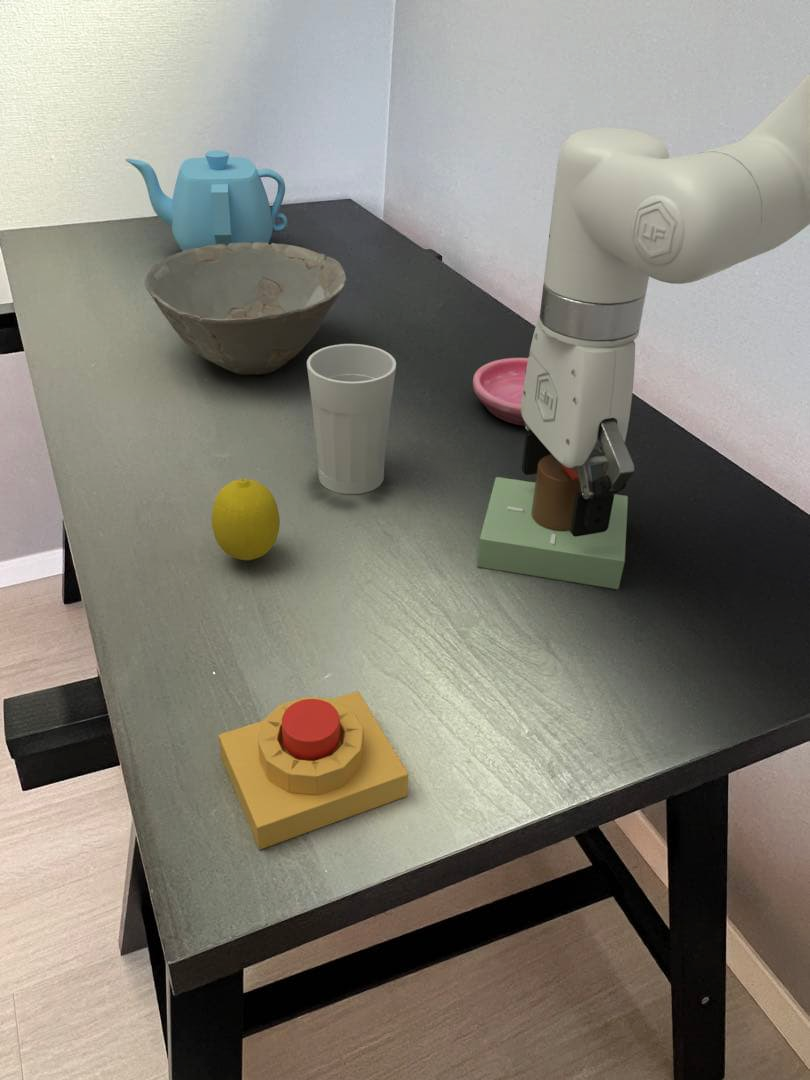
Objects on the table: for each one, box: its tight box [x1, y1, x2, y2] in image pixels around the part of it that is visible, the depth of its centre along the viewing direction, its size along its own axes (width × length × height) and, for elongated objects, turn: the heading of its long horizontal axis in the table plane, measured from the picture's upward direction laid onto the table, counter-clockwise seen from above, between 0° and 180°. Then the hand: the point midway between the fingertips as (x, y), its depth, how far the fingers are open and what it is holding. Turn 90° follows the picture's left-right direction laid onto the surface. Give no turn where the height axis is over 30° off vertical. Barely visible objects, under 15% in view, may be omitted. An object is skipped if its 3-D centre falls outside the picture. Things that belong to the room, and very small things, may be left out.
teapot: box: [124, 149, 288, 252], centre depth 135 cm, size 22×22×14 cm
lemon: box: [211, 477, 281, 561], centre depth 78 cm, size 6×6×8 cm
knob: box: [531, 454, 592, 530], centre depth 80 cm, size 4×4×5 cm
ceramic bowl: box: [144, 242, 347, 376], centre depth 109 cm, size 22×23×10 cm
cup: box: [306, 343, 397, 495], centre depth 88 cm, size 8×8×12 cm
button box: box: [217, 690, 409, 851], centre depth 61 cm, size 10×8×4 cm
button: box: [282, 699, 340, 760], centre depth 59 cm, size 4×4×2 cm
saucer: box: [472, 357, 528, 427], centre depth 103 cm, size 12×12×3 cm
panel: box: [476, 476, 629, 590], centre depth 83 cm, size 12×10×3 cm
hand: (562, 500), depth 81 cm, fingers open, 9 cm apart
